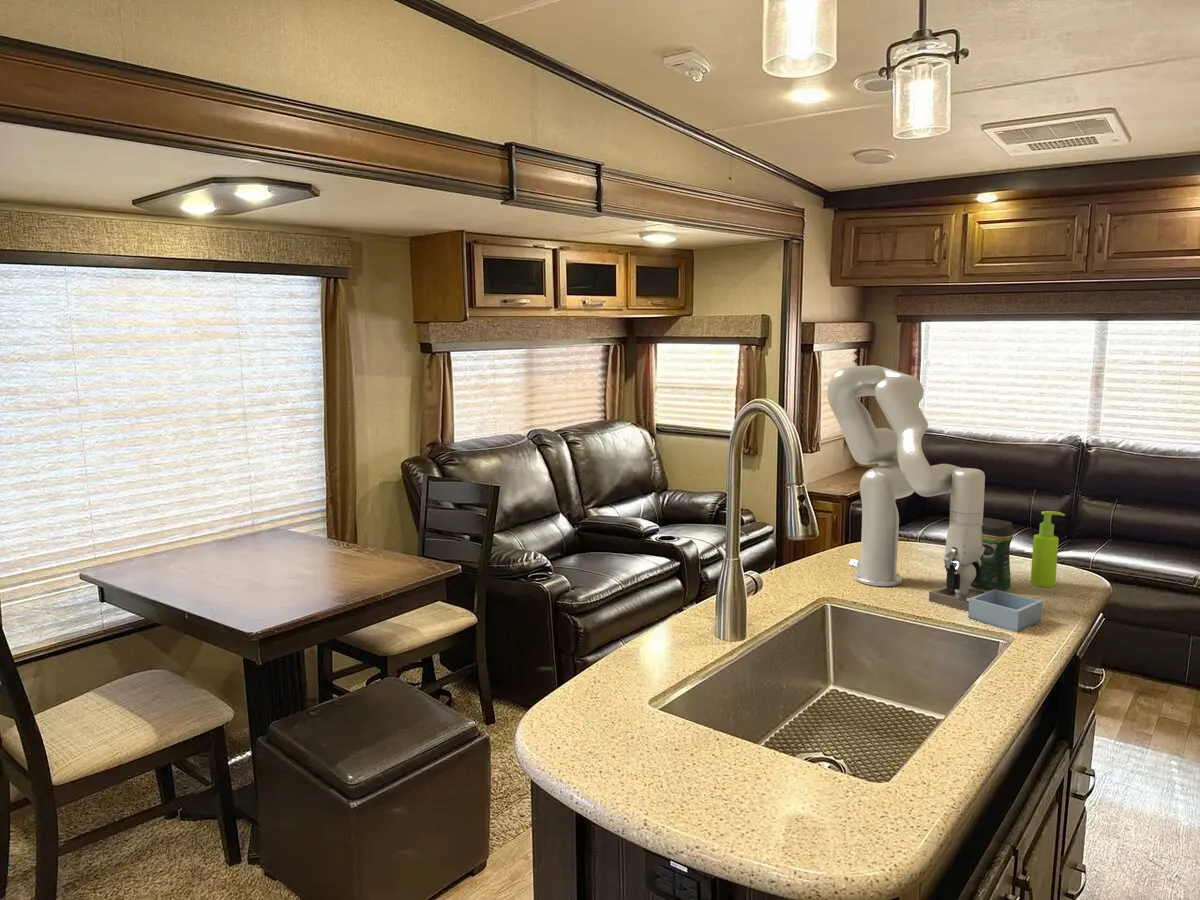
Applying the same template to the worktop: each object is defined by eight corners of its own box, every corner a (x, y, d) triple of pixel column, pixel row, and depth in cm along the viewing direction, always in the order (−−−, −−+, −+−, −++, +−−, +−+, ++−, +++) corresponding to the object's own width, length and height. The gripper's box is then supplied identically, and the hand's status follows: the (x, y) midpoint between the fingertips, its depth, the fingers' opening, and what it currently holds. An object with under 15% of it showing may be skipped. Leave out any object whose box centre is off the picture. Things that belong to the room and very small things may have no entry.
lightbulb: (943, 599, 209) (945, 557, 207) (966, 598, 209) (968, 556, 208) (955, 607, 203) (958, 564, 201) (979, 606, 203) (981, 563, 202)
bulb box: (968, 618, 195) (969, 598, 194) (992, 608, 202) (993, 589, 201) (1017, 632, 186) (1018, 611, 185) (1041, 621, 192) (1042, 601, 192)
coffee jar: (1014, 588, 217) (1019, 520, 215) (1001, 594, 212) (1005, 524, 210) (978, 579, 225) (982, 513, 222) (964, 585, 220) (968, 518, 217)
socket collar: (928, 601, 207) (929, 591, 207) (951, 592, 214) (952, 583, 213) (970, 613, 199) (971, 603, 198) (993, 603, 205) (994, 594, 205)
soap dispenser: (1062, 588, 217) (1068, 514, 214) (1034, 586, 218) (1039, 513, 216) (1054, 581, 223) (1060, 509, 220) (1027, 580, 224) (1032, 508, 221)
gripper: (969, 511, 211) (966, 575, 213) (933, 520, 201) (930, 588, 203) (998, 515, 205) (995, 581, 207) (962, 525, 195) (959, 595, 197)
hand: (963, 584), depth 205 cm, fingers open, 9 cm apart
